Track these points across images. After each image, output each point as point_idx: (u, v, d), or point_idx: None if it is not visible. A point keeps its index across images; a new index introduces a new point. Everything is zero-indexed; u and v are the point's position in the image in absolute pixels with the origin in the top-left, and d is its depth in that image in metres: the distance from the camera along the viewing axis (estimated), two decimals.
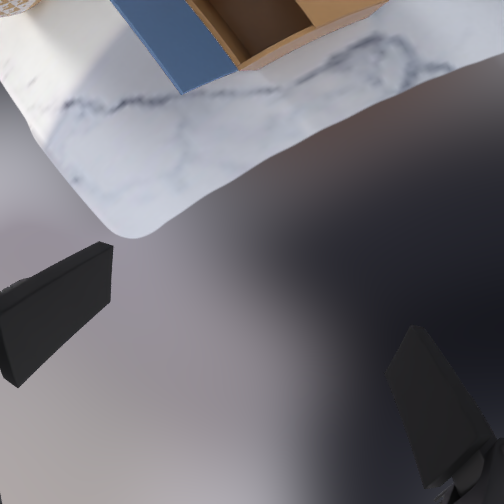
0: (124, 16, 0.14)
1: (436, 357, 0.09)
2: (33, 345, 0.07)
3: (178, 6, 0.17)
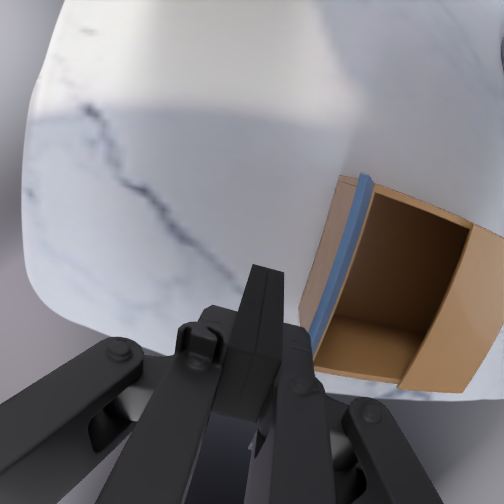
0: (317, 321, 0.10)
1: (270, 291, 0.11)
2: None
3: (344, 275, 0.15)
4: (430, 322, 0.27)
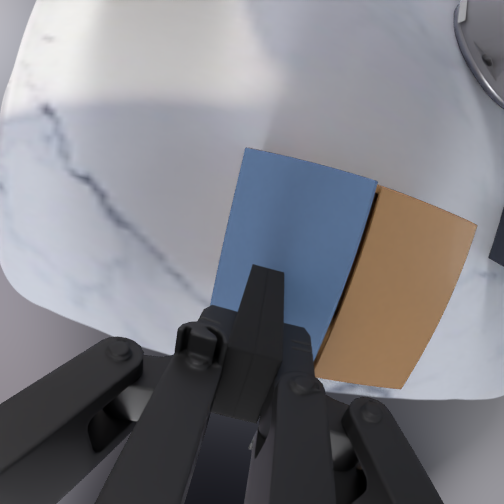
0: (338, 300, 0.12)
1: (270, 291, 0.11)
2: None
3: None
4: None
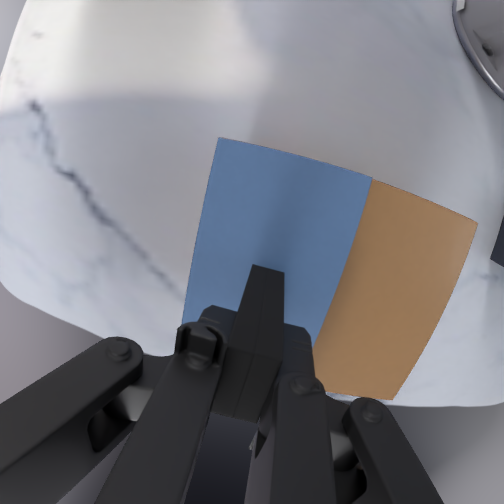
0: (336, 287, 0.13)
1: (271, 291, 0.11)
2: None
3: None
4: None
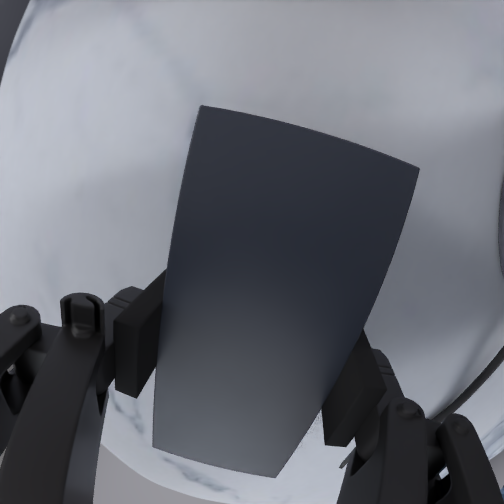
0: None
1: None
2: (151, 354, 0.09)
3: None
4: None
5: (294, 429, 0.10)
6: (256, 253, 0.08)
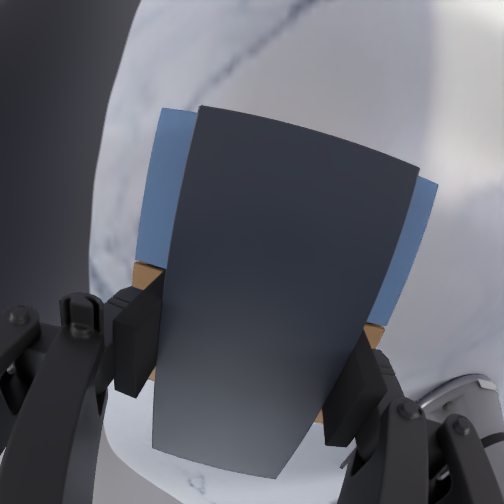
0: None
1: None
2: (151, 354, 0.09)
3: None
4: None
5: (294, 429, 0.10)
6: (256, 254, 0.08)
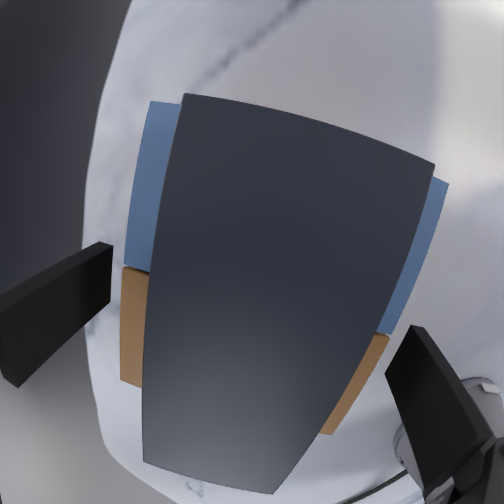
0: None
1: (436, 357, 0.09)
2: (33, 345, 0.07)
3: None
4: None
5: (293, 448, 0.09)
6: (249, 262, 0.07)
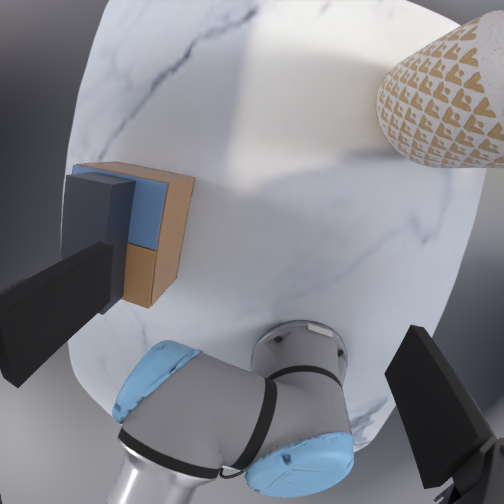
0: None
1: (436, 357, 0.09)
2: (33, 345, 0.07)
3: None
4: None
5: None
6: (79, 212, 0.26)
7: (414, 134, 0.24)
